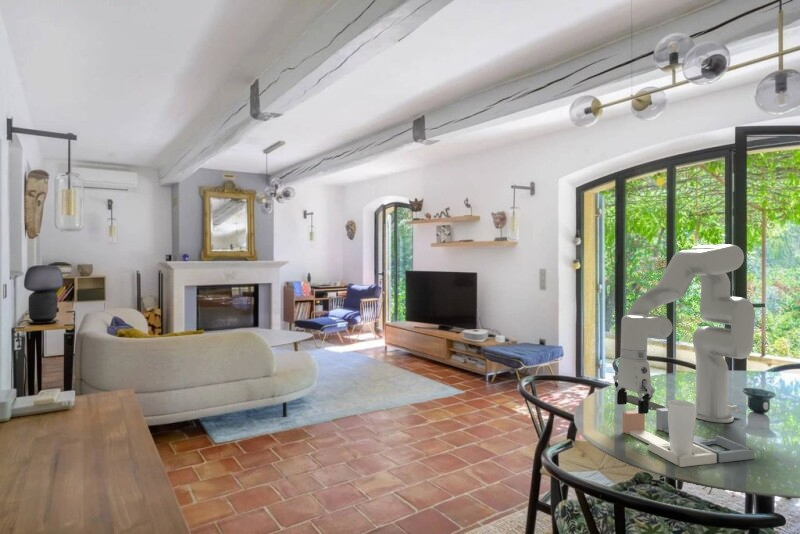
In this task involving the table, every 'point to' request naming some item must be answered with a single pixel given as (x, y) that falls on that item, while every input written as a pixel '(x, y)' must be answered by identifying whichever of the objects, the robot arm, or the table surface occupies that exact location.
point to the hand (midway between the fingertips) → (632, 408)
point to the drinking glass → (681, 426)
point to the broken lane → (710, 441)
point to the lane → (664, 443)
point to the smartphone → (635, 399)
